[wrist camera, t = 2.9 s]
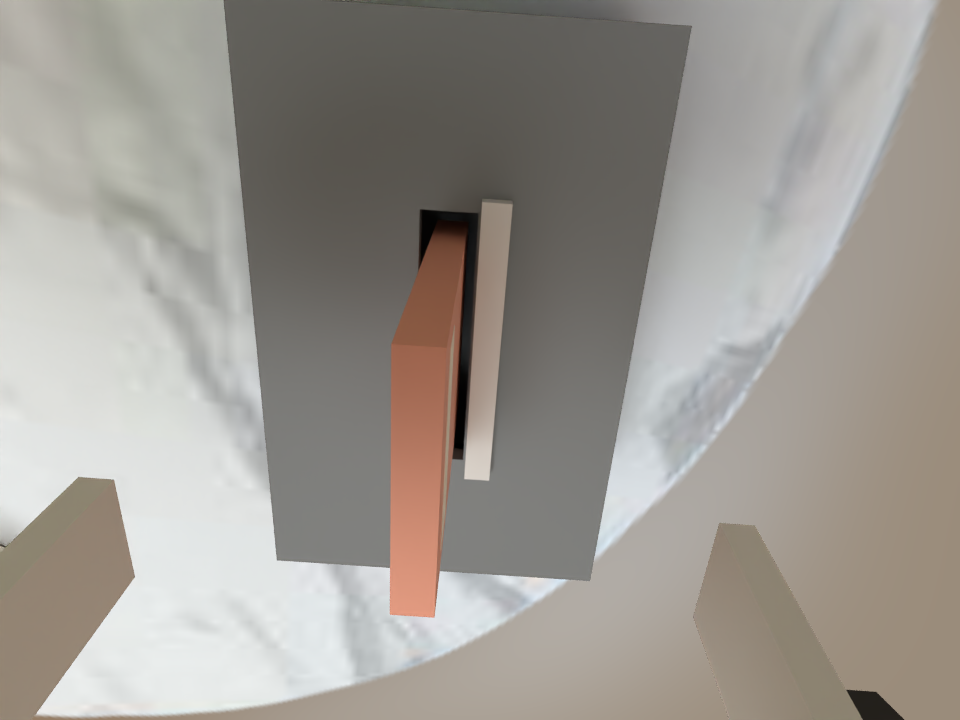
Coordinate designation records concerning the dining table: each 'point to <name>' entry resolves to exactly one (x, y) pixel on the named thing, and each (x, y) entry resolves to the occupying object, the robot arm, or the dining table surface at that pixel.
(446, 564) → the dispenser
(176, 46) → the dining table surface
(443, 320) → the ticket
